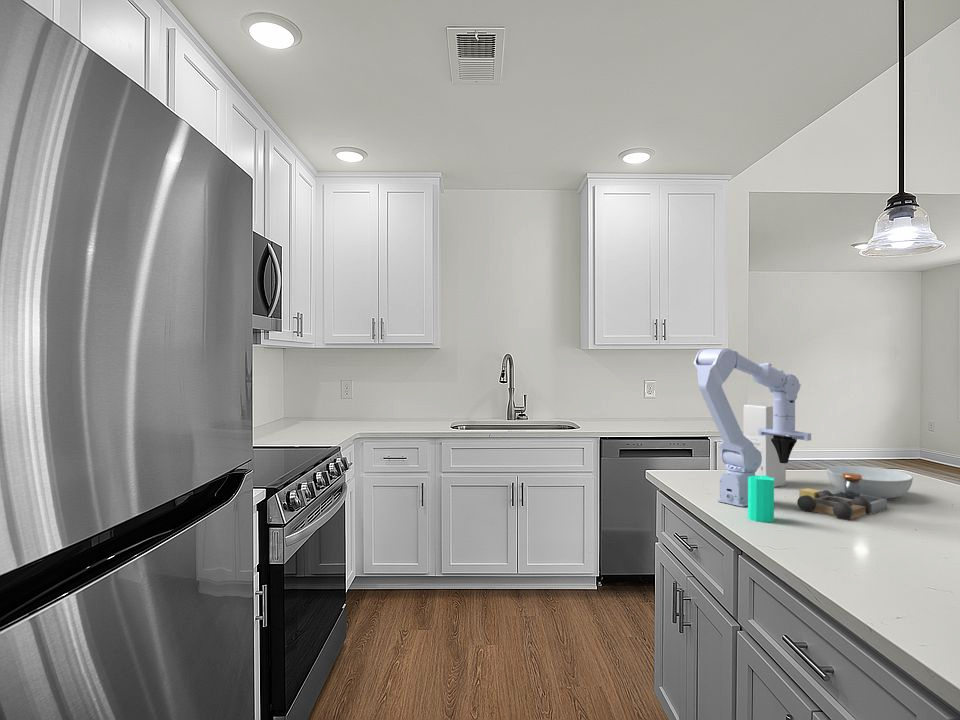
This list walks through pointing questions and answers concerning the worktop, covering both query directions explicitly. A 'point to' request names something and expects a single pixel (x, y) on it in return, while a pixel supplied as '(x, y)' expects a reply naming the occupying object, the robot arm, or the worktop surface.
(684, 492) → the worktop surface
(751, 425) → the tall white carton
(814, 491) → the yellow cube
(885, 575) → the worktop surface
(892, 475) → the serving bowl
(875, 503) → the tray
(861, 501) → the trolley
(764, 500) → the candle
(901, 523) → the worktop surface
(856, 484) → the pin
